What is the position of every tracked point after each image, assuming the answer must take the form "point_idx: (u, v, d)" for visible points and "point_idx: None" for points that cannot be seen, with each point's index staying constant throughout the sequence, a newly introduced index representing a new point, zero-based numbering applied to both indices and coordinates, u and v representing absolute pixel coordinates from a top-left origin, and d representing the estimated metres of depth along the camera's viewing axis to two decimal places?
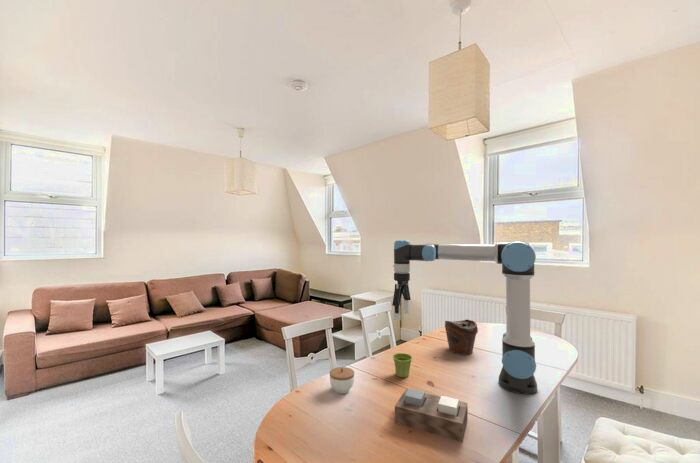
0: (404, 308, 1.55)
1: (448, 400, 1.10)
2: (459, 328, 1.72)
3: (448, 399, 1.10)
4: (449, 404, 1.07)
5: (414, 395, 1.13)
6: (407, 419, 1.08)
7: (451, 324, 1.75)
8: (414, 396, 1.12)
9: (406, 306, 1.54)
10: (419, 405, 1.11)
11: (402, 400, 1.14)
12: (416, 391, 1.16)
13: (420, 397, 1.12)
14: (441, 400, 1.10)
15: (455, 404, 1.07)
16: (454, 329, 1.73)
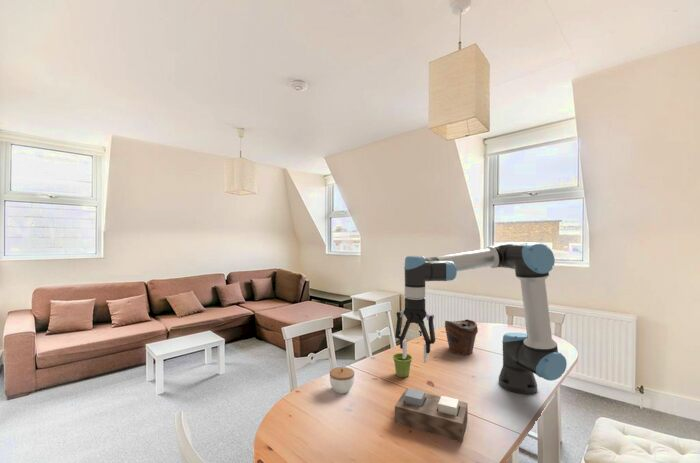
0: None
1: (448, 400, 1.10)
2: (459, 328, 1.72)
3: (448, 399, 1.10)
4: (449, 404, 1.07)
5: (414, 395, 1.13)
6: (407, 419, 1.08)
7: (451, 324, 1.75)
8: (414, 396, 1.12)
9: (424, 351, 1.13)
10: (419, 405, 1.11)
11: (402, 400, 1.14)
12: (416, 391, 1.16)
13: (420, 397, 1.12)
14: (441, 400, 1.10)
15: (455, 404, 1.07)
16: (454, 329, 1.73)
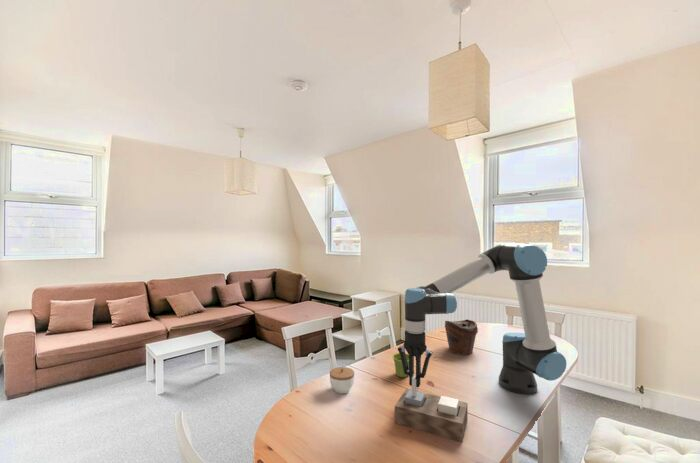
0: None
1: (448, 400, 1.10)
2: (459, 328, 1.72)
3: (448, 399, 1.10)
4: (449, 404, 1.07)
5: (414, 397, 1.13)
6: (407, 419, 1.08)
7: (451, 324, 1.75)
8: (414, 398, 1.12)
9: None
10: None
11: (402, 400, 1.14)
12: None
13: (420, 399, 1.12)
14: (441, 400, 1.10)
15: (455, 404, 1.07)
16: (454, 329, 1.73)
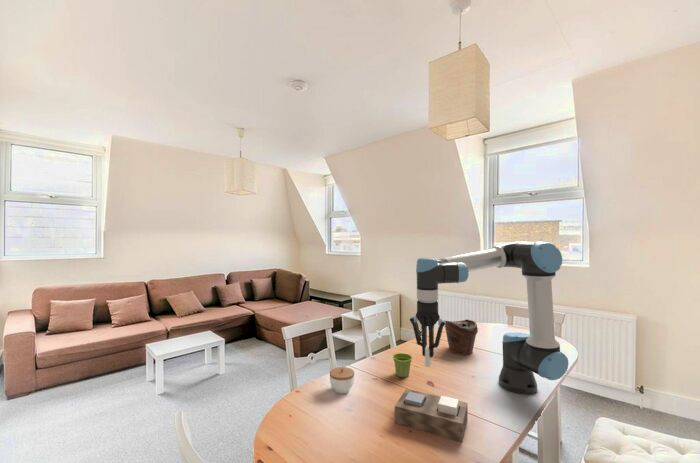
0: None
1: (448, 400, 1.10)
2: (459, 328, 1.72)
3: (448, 399, 1.10)
4: (449, 404, 1.07)
5: (414, 399, 1.13)
6: (407, 419, 1.08)
7: (451, 324, 1.75)
8: (414, 400, 1.12)
9: None
10: None
11: (402, 400, 1.14)
12: (416, 394, 1.16)
13: (420, 401, 1.12)
14: (441, 400, 1.10)
15: (455, 404, 1.07)
16: (454, 329, 1.73)
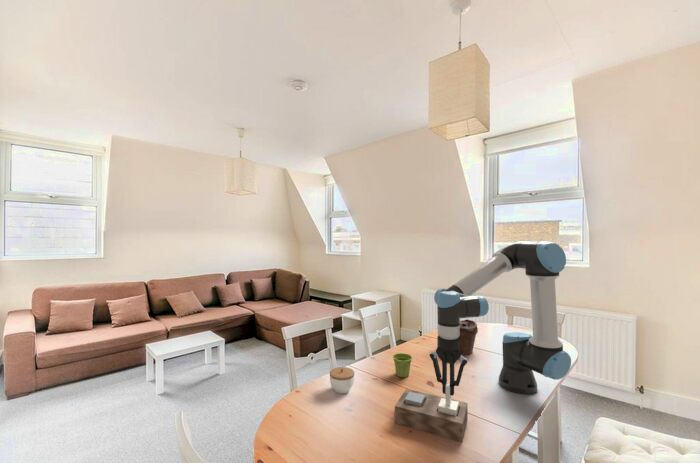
0: None
1: None
2: None
3: None
4: (449, 406, 1.07)
5: (414, 399, 1.13)
6: (407, 419, 1.08)
7: None
8: (414, 400, 1.12)
9: None
10: None
11: (402, 400, 1.14)
12: (416, 394, 1.16)
13: (420, 401, 1.12)
14: (441, 403, 1.10)
15: (455, 406, 1.07)
16: None
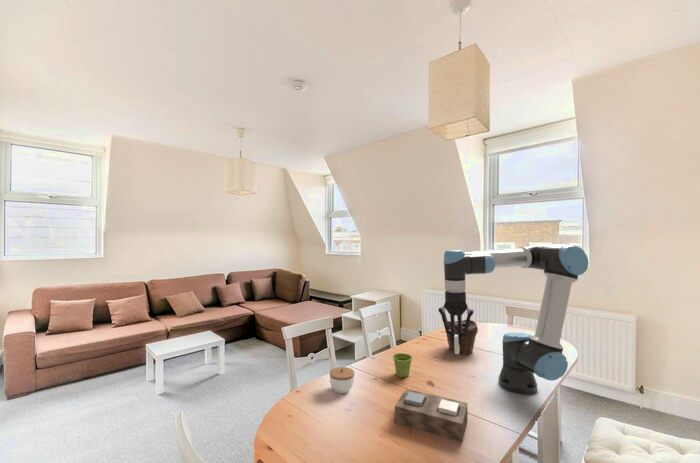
0: None
1: (448, 404, 1.10)
2: None
3: (448, 403, 1.10)
4: (449, 408, 1.07)
5: (414, 399, 1.13)
6: (407, 419, 1.08)
7: None
8: (414, 400, 1.12)
9: None
10: None
11: (402, 400, 1.14)
12: (416, 394, 1.16)
13: (420, 401, 1.12)
14: (441, 404, 1.10)
15: (455, 408, 1.07)
16: None
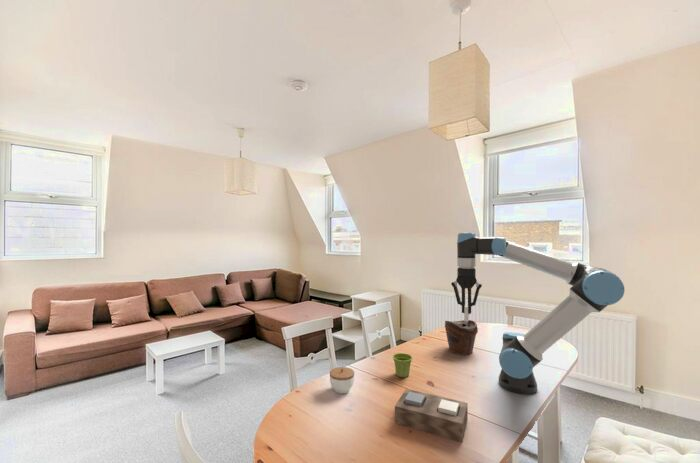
0: None
1: (448, 404, 1.10)
2: (459, 328, 1.72)
3: (448, 403, 1.10)
4: (449, 408, 1.07)
5: (414, 399, 1.13)
6: (407, 419, 1.08)
7: (451, 324, 1.75)
8: (414, 400, 1.12)
9: None
10: None
11: (402, 400, 1.14)
12: (416, 394, 1.16)
13: (420, 401, 1.12)
14: (441, 404, 1.10)
15: (455, 408, 1.07)
16: (454, 329, 1.73)
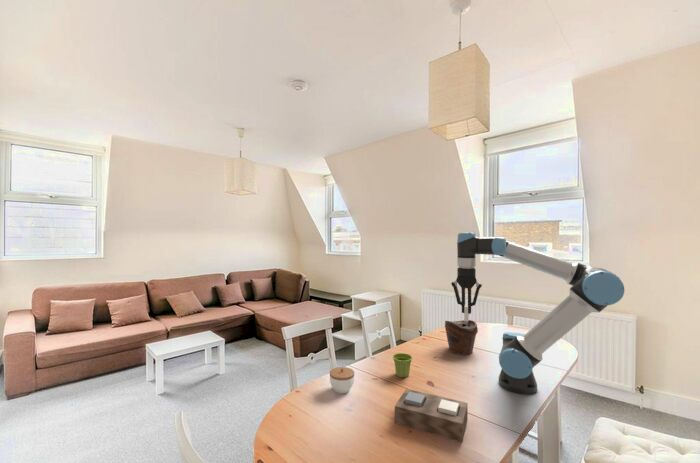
0: None
1: (448, 404, 1.10)
2: (459, 328, 1.72)
3: (448, 403, 1.10)
4: (449, 408, 1.07)
5: (414, 399, 1.13)
6: (407, 419, 1.08)
7: (451, 324, 1.75)
8: (414, 400, 1.12)
9: None
10: None
11: (402, 400, 1.14)
12: (416, 394, 1.16)
13: (420, 401, 1.12)
14: (441, 404, 1.10)
15: (455, 408, 1.07)
16: (454, 329, 1.73)
